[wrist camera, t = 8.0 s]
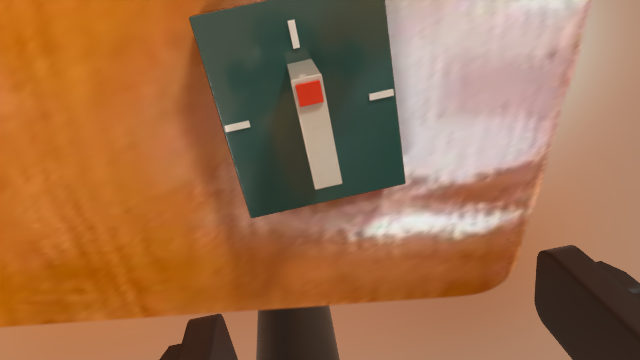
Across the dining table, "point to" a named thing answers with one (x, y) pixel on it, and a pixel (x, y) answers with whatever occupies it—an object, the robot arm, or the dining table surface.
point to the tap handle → (315, 123)
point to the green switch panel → (278, 100)
